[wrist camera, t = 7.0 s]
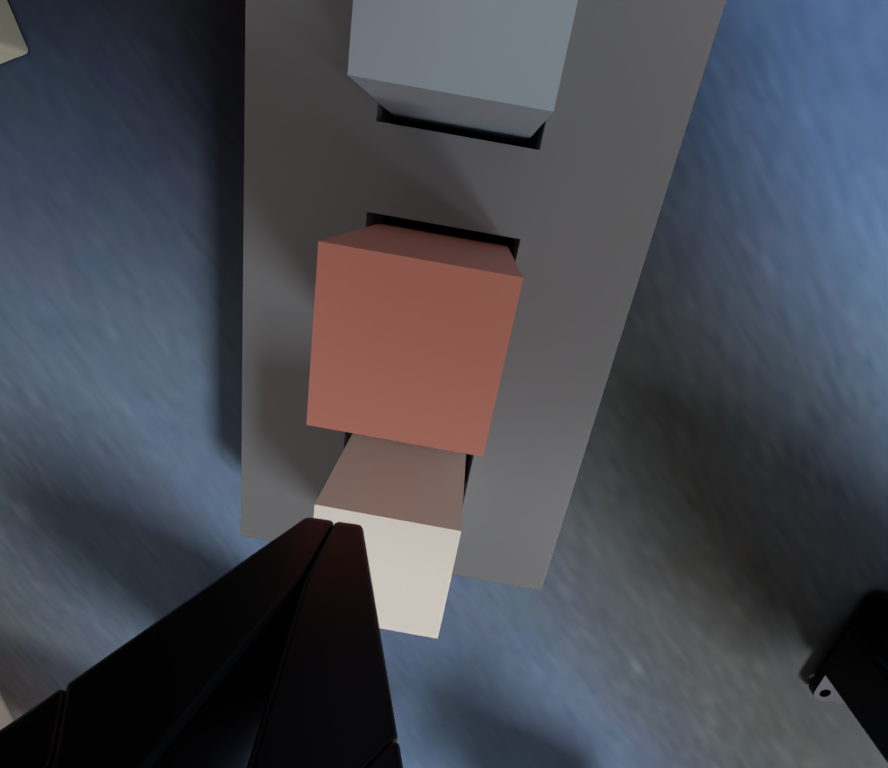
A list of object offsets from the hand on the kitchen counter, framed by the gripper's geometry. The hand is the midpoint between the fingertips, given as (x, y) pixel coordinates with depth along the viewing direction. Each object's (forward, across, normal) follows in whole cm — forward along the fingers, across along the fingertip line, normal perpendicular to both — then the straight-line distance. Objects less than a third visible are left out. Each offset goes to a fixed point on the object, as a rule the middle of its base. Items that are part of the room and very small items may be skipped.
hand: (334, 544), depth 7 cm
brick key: (+10, 0, -2) cm, 10 cm away
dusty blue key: (+11, -1, -9) cm, 14 cm away
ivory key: (+11, 0, +5) cm, 12 cm away
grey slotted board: (+12, 0, -2) cm, 12 cm away
